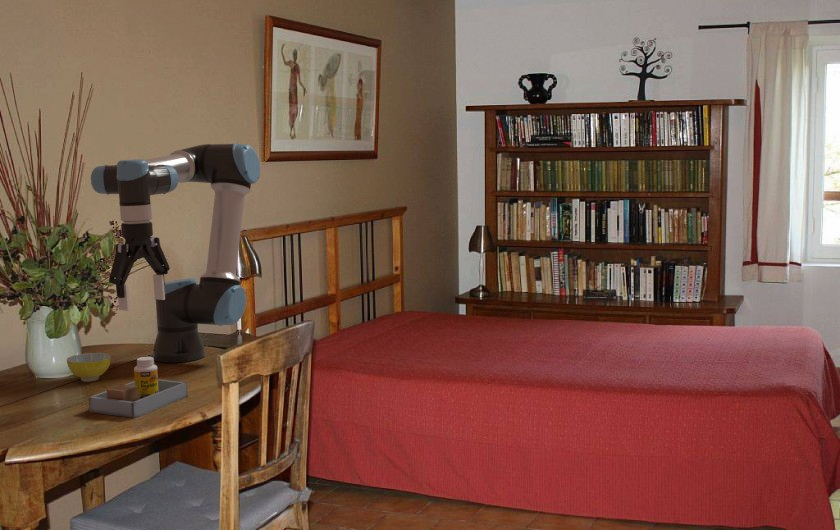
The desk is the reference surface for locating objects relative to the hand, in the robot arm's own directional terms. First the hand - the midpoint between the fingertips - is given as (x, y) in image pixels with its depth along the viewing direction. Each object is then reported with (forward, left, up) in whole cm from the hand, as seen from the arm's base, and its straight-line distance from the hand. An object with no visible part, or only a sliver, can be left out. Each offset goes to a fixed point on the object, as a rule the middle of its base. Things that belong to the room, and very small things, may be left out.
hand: (142, 304), depth 233 cm
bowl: (-4, -23, -23) cm, 33 cm away
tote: (+10, +6, -23) cm, 26 cm away
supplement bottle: (+7, +6, -22) cm, 24 cm away
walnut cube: (+16, +6, -22) cm, 28 cm away
